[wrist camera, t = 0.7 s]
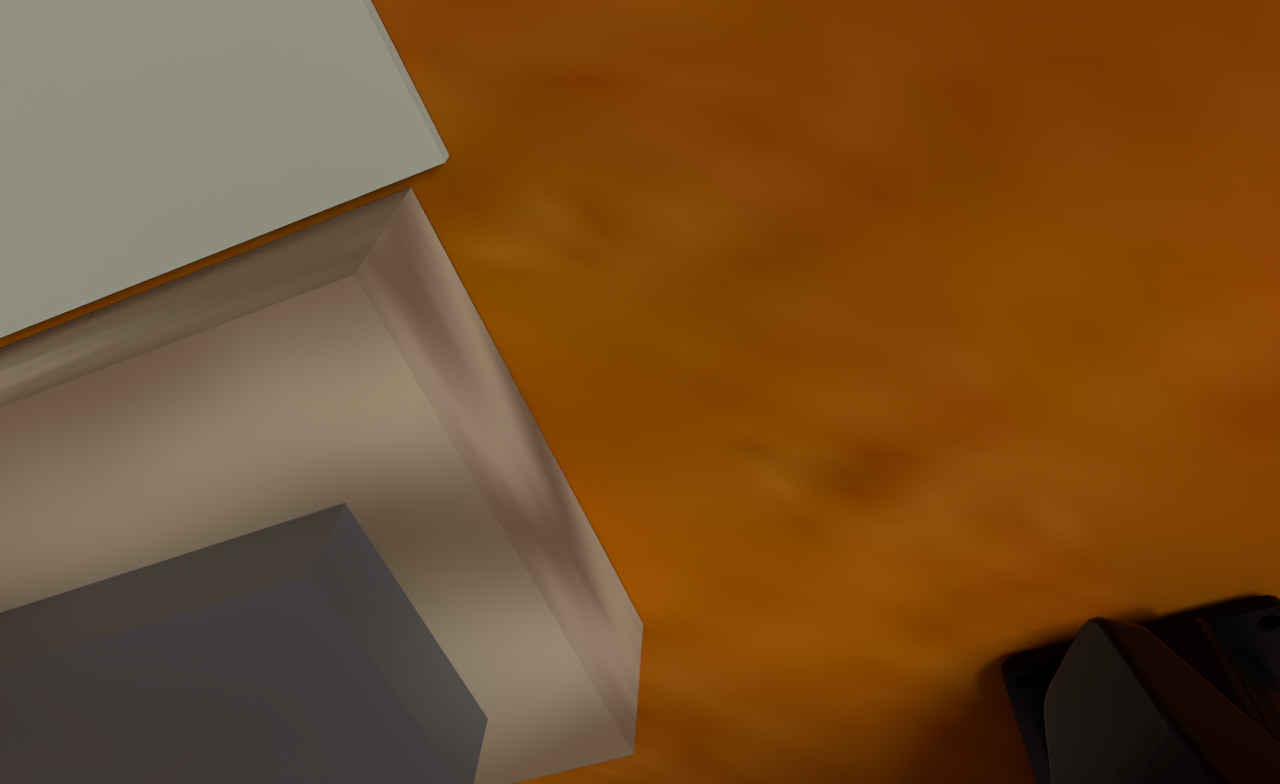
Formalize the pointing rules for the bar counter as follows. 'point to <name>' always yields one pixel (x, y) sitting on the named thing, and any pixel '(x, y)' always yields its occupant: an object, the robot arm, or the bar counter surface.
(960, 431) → the bar counter surface
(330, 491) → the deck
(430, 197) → the bar counter surface
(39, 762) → the charcoal grey slab
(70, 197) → the mat
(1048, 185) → the bar counter surface
